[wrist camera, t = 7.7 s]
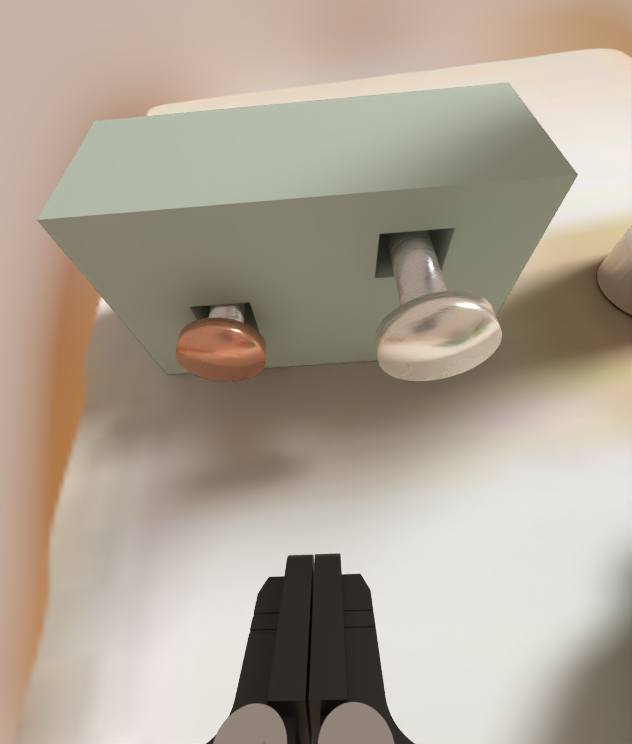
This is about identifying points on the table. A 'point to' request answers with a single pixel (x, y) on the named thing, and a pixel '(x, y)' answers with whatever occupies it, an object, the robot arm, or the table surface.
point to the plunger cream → (431, 318)
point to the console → (304, 212)
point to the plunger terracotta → (222, 346)
